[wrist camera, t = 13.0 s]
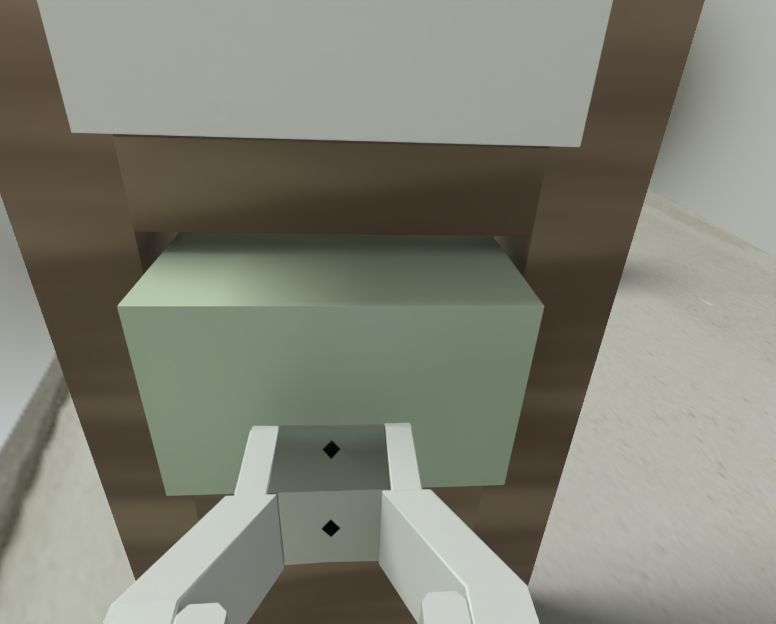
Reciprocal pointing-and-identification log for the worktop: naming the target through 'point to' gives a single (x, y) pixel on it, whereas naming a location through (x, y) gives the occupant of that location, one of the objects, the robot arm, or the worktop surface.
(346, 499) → the robot arm
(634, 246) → the worktop surface
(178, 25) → the cream key
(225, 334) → the sage key
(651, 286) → the worktop surface
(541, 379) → the key panel
